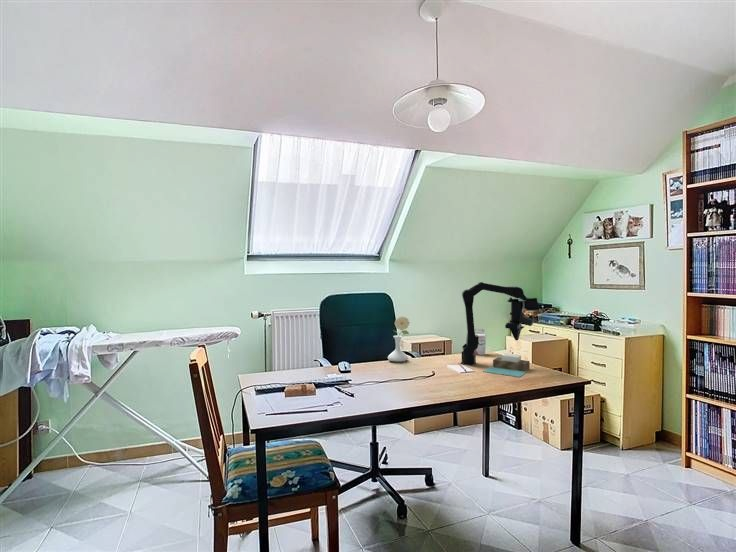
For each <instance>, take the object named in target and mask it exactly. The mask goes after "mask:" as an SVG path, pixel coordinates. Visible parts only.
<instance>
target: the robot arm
mask: <svg viewBox="0 0 736 552" xmlns="http://www.w3.org/2000/svg"><path fill="white" fill-rule="evenodd" d="M482 291H488V292H493V293H499V294H504V295H507V296H510V297H509V299H507V300H506V303H510V312H509V315H510V320H509V321H508V322H506V323H505V325H504V326H505V329H509V330H510V333H511V334H512V336H513V338H514V340H515V341H518V340H519V339H520V335H521V332H522V329H524V328H525V326H529V327H531V326H533V325H534V323H535V318H534V315H528V316H527V315H525V312H523V310H524V309H525V311H528V312H529V311H531V312H534V311H536V312H537V311H538V310H539V303H538V298H537V297H527V296H526V295H525V293H524V289H523V288H522V287H520V286H504V285H503V286H502V285H497V284H492V283H486V282H483V281H479V282H478V283H477V284H475V285H473V286H472V287H470V288H469V289H463V291H462V292H461V297H462V301H463V304H464V309H465V319H466V331H467V332H466V338H465V340H466V341H465V343H464V345H462V346H461V348H462V351H461V362H459V363H460V364H461V365H468V366H473V365H475V364H476V363H477V362H476V360H477V358H476V357H477V355H475V352H474V351H475V350H476V349H477V348H478V344H479V342H478V339H479V337H478V335H475V332H476V331H475V330H474V329H475V319H474V310H473V309H474V308H473V306H474V301H475V300H474V298H475V296H476V295H478V294H479V293H480V292H482ZM523 325H524V326H523Z"/></svg>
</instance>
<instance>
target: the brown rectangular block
mask: <svg viewBox="0 0 736 552" xmlns="http://www.w3.org/2000/svg"><path fill="white" fill-rule="evenodd" d="M492 367H496V368H503V369H510V370H518V371H525V372H527V371H529V370H530V360H526V359H521V361H519V362H511V361H503V360H502V356H501V357H500V356H498V357H496V358H494V359H492Z"/></svg>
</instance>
